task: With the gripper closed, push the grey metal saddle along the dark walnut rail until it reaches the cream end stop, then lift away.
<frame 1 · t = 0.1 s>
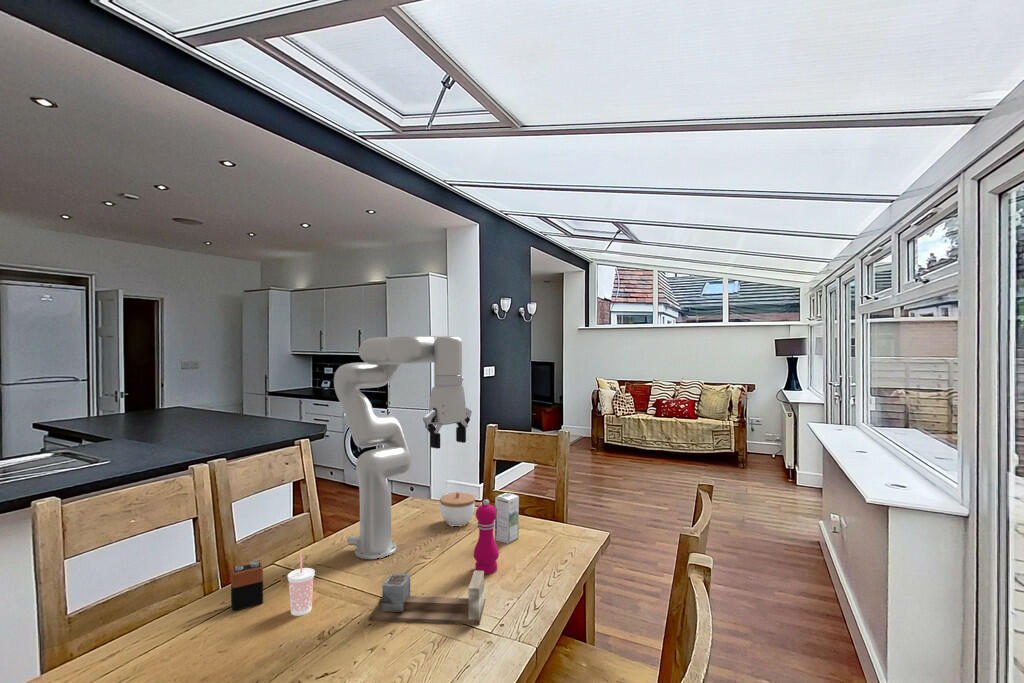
hand: (448, 444, 135), 37 cm above the table, tool pointing down, fingers open, 9 cm apart
lidded bowl: (457, 523, 179), on the table
battery: (247, 604, 124), on the table
pepper mill: (486, 570, 142), on the table
rail: (429, 610, 120), on the table
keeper: (396, 592, 121), point 4 cm above the table, slide at 0.0 cm
beverage cup: (301, 611, 121), on the table
syrup box: (506, 540, 164), on the table
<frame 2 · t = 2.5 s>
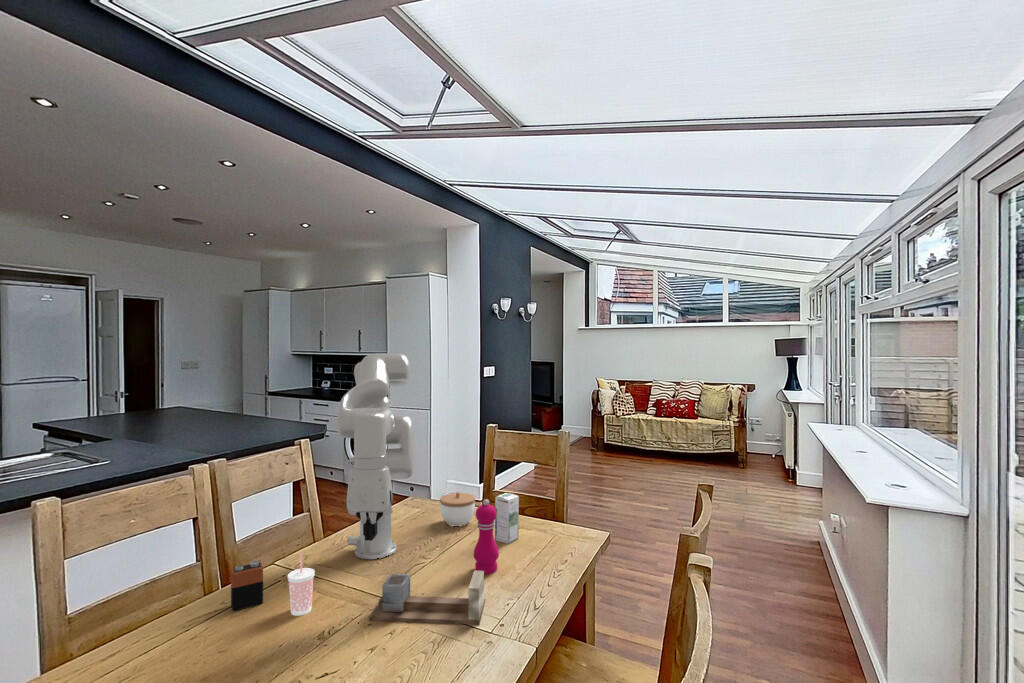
hand: (370, 538, 121), 17 cm above the table, tool pointing down, fingers closed
nothing on the table moved.
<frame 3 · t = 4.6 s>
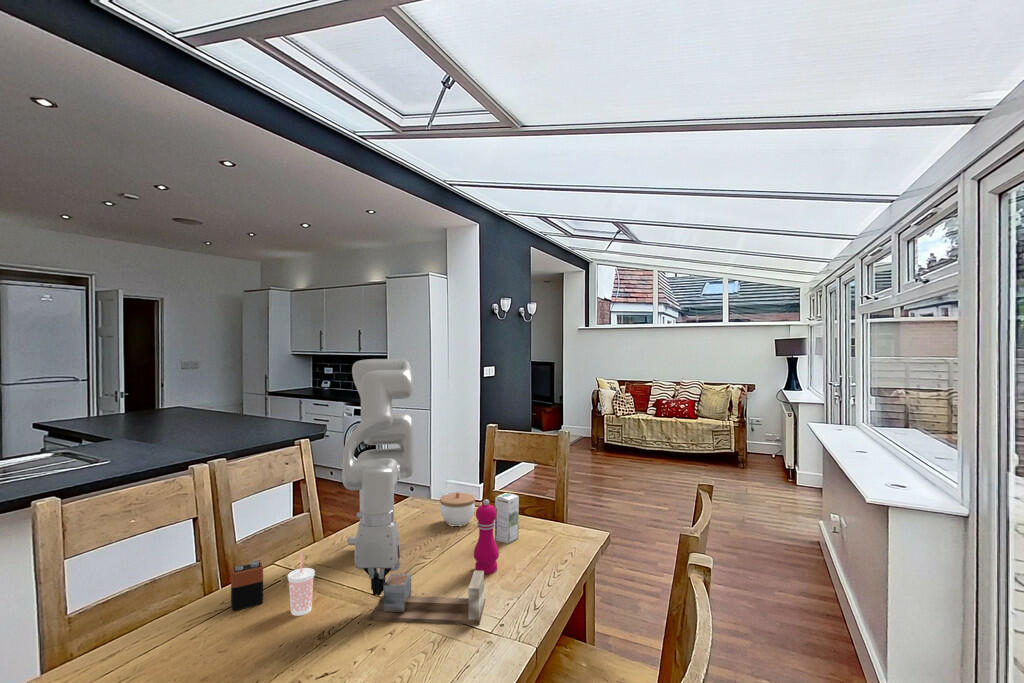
hand: (378, 592, 121), 4 cm above the table, tool pointing down, fingers closed
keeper: (397, 592, 121), point 4 cm above the table, slide at 0.3 cm, touching gripper
everything else where it was.
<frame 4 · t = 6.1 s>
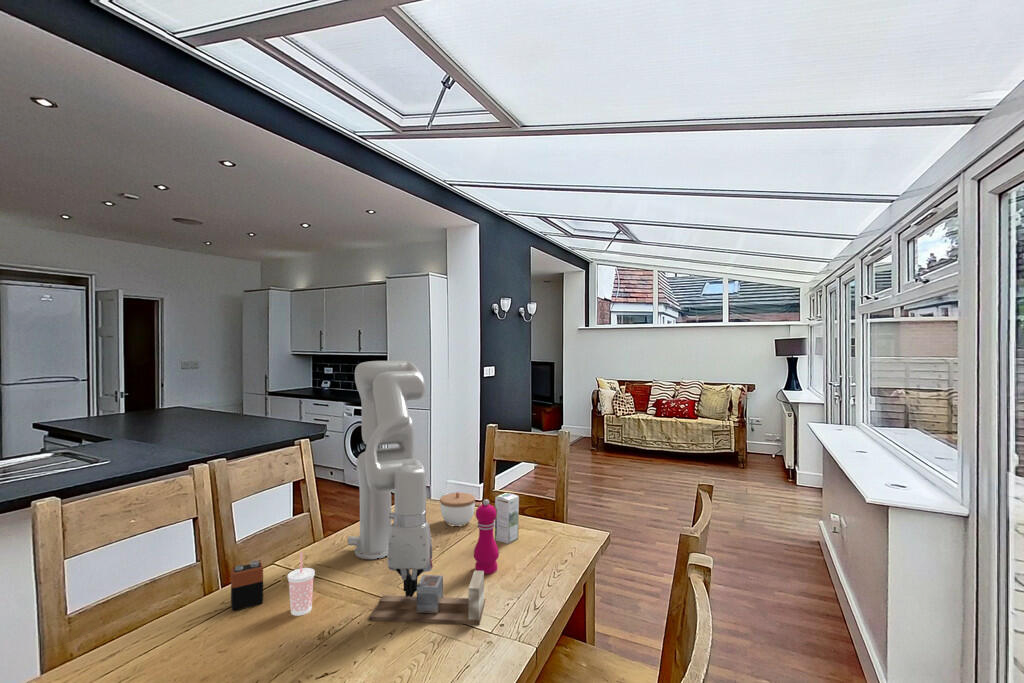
hand: (410, 593, 121), 4 cm above the table, tool pointing down, fingers closed
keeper: (430, 593, 120), point 4 cm above the table, slide at 8.3 cm, touching gripper
everything else where it was.
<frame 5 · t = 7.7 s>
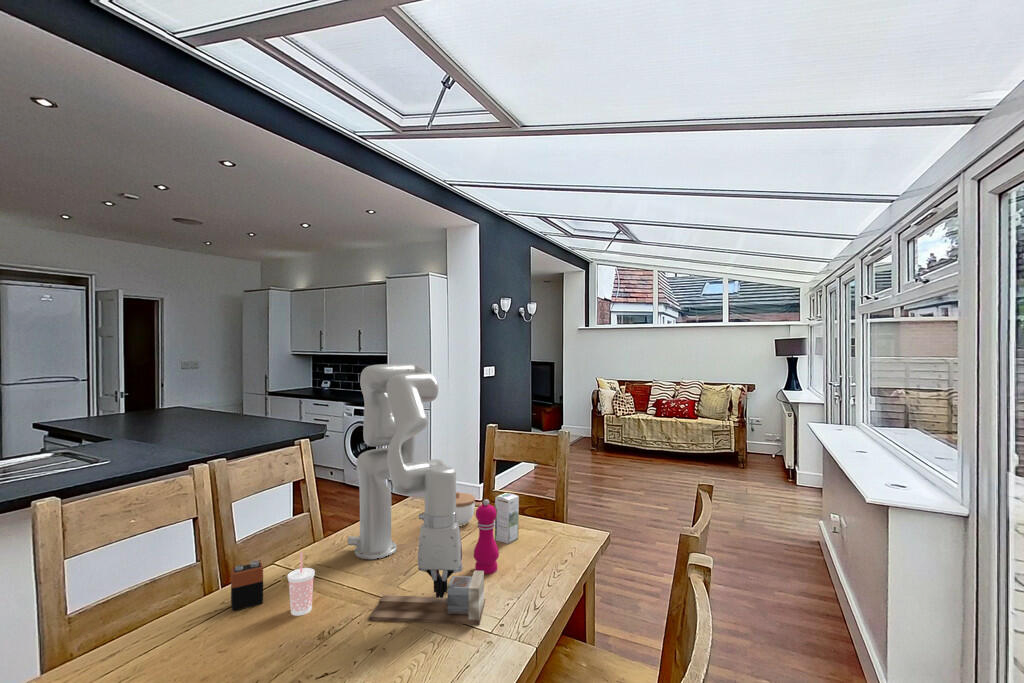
hand: (440, 594, 120), 4 cm above the table, tool pointing down, fingers closed
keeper: (460, 594, 120), point 4 cm above the table, slide at 15.7 cm, touching gripper
everything else where it was.
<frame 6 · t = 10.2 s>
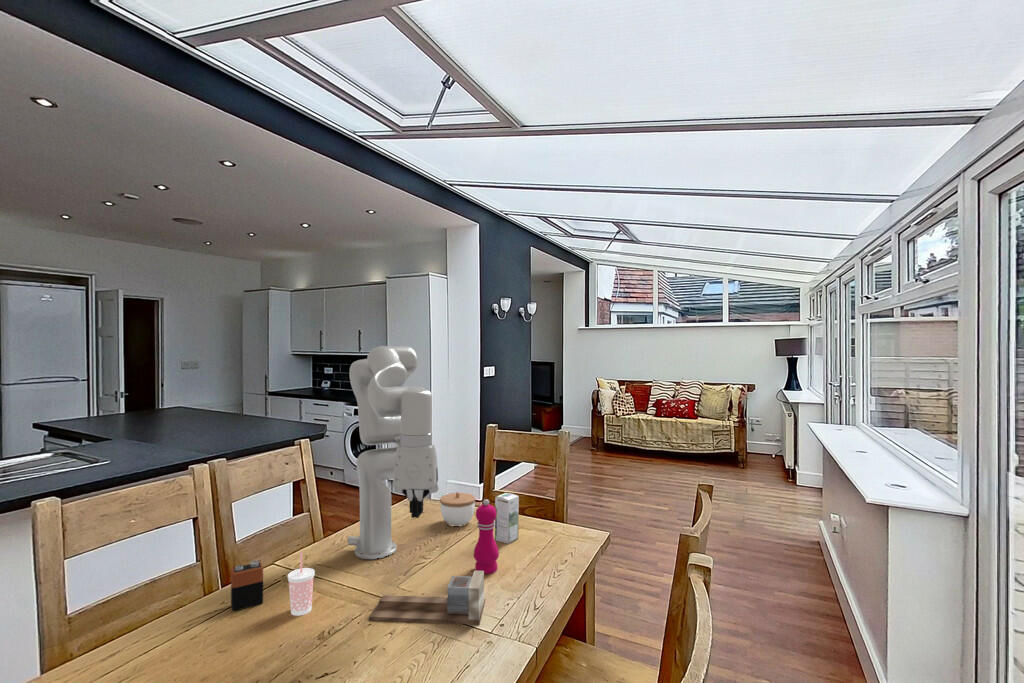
hand: (416, 515, 121), 23 cm above the table, tool pointing down, fingers closed
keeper: (460, 594, 120), point 4 cm above the table, slide at 15.6 cm
everything else where it was.
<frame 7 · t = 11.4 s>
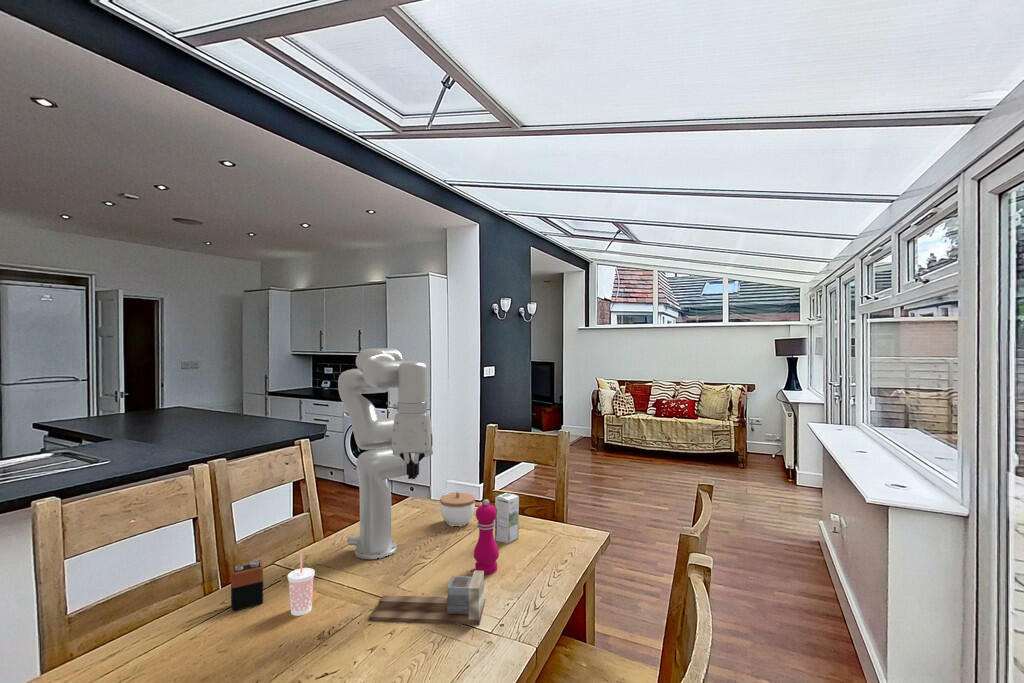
hand: (412, 477, 132), 29 cm above the table, tool pointing down, fingers closed
nothing on the table moved.
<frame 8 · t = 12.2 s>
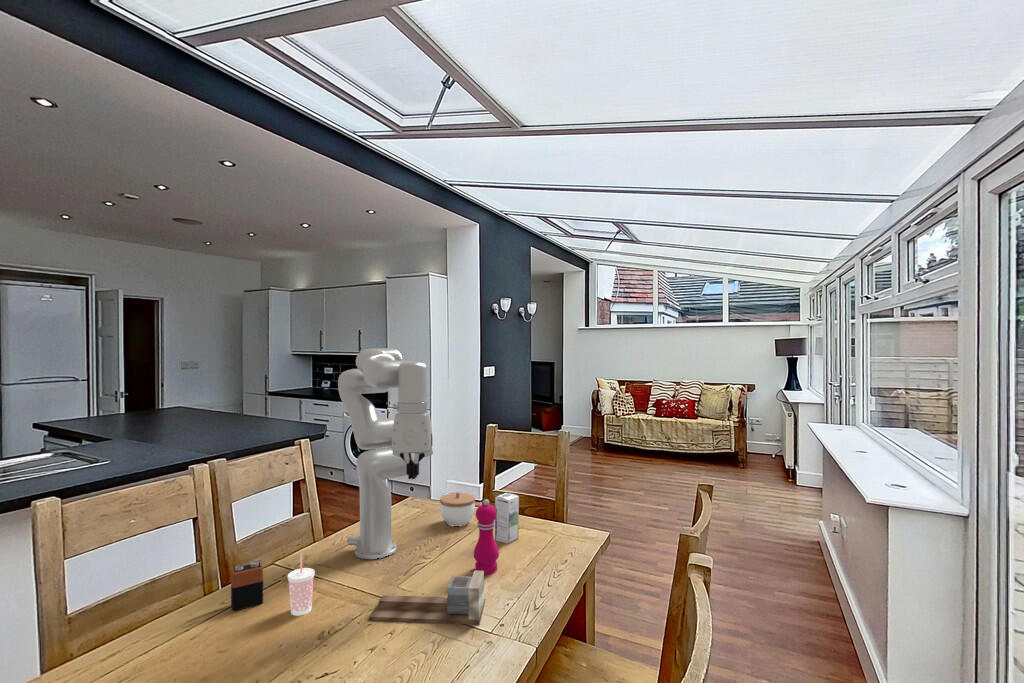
hand: (412, 477, 132), 29 cm above the table, tool pointing down, fingers closed
nothing on the table moved.
at the end: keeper slide at 15.6 cm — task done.
